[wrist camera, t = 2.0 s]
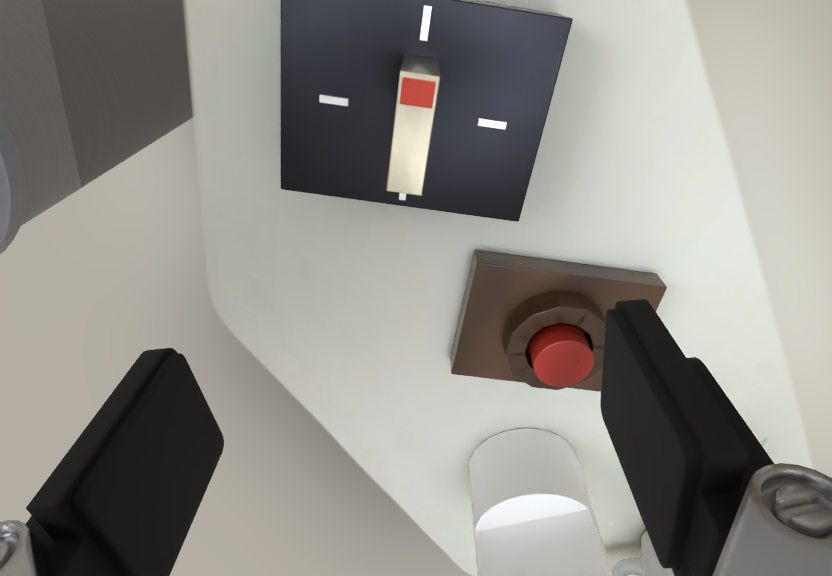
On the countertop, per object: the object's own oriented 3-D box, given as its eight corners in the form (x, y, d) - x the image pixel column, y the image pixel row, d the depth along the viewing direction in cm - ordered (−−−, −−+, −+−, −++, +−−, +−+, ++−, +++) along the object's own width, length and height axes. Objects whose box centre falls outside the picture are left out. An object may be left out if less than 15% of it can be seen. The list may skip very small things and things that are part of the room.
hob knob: (422, 163, 26) (421, 198, 22) (391, 159, 26) (385, 193, 22) (438, 59, 24) (440, 77, 20) (404, 54, 24) (399, 71, 20)
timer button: (522, 365, 33) (527, 383, 32) (537, 320, 31) (542, 337, 30) (576, 371, 34) (583, 389, 32) (594, 327, 32) (602, 345, 30)
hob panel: (292, 170, 30) (279, 190, 27) (295, -29, 25) (279, -29, 22) (511, 201, 31) (519, 223, 28) (558, 13, 25) (574, 19, 23)
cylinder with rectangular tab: (565, 417, 40) (612, 569, 30) (585, 487, 44) (633, 641, 34) (455, 442, 42) (464, 595, 32) (485, 508, 46) (502, 660, 36)
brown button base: (449, 358, 37) (452, 392, 34) (474, 249, 32) (479, 277, 29) (610, 377, 38) (626, 412, 35) (657, 273, 33) (680, 303, 30)
